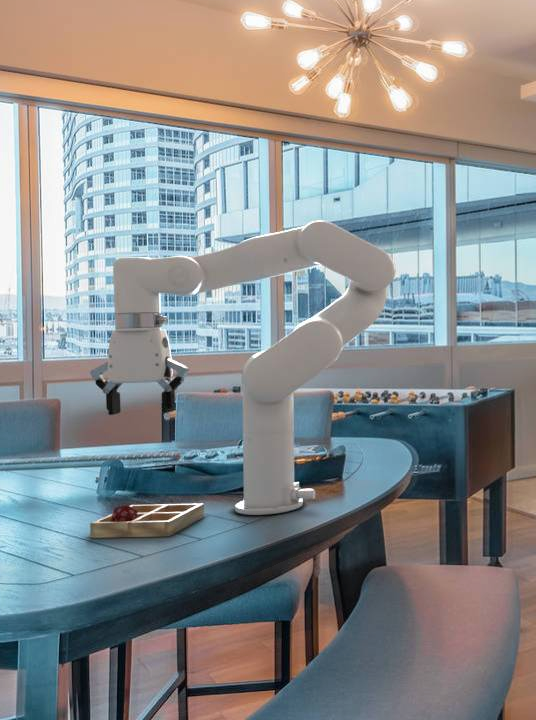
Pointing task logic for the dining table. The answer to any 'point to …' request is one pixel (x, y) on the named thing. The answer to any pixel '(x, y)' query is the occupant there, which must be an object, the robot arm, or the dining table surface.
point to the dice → (124, 514)
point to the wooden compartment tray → (149, 521)
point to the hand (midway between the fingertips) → (141, 413)
